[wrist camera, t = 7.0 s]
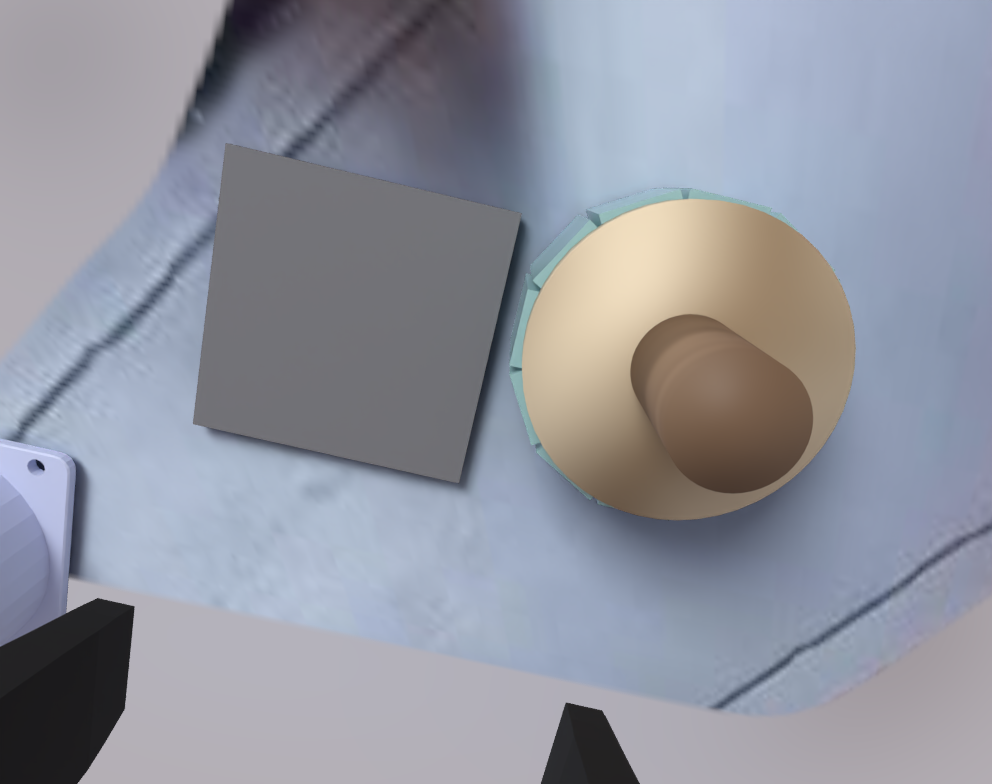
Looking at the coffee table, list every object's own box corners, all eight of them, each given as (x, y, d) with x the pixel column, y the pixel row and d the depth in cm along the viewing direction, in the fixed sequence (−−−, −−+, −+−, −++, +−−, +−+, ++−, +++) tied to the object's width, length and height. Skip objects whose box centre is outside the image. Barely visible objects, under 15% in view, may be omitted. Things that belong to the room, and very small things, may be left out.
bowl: (486, 436, 21) (481, 478, 18) (552, 161, 19) (559, 156, 16) (745, 494, 22) (783, 546, 19) (839, 230, 19) (900, 239, 16)
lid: (488, 466, 18) (478, 561, 14) (570, 160, 16) (592, 151, 12) (773, 536, 19) (859, 653, 14) (891, 246, 16) (1037, 270, 12)
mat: (198, 419, 22) (192, 424, 21) (231, 144, 19) (225, 143, 19) (459, 478, 22) (459, 483, 21) (521, 213, 20) (521, 213, 19)
